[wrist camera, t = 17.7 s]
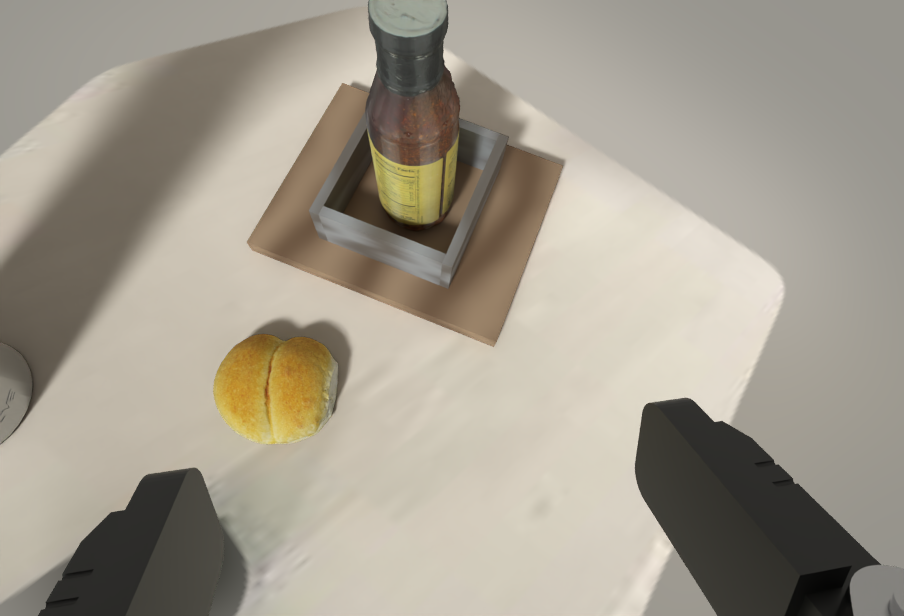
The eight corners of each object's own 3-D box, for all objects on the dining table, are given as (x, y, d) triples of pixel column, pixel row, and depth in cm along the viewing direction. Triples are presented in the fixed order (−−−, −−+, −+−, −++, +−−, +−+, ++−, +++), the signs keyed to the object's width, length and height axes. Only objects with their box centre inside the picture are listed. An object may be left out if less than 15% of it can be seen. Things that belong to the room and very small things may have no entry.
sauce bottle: (421, 159, 46) (426, -66, 27) (466, 208, 44) (505, 7, 26) (362, 199, 44) (323, -13, 25) (408, 251, 43) (402, 69, 24)
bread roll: (232, 335, 41) (214, 320, 37) (344, 344, 41) (337, 330, 38) (210, 441, 38) (187, 436, 35) (329, 449, 39) (320, 446, 35)
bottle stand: (252, 250, 43) (227, 214, 38) (344, 94, 49) (335, 43, 43) (493, 346, 42) (505, 325, 36) (558, 175, 48) (578, 133, 42)
